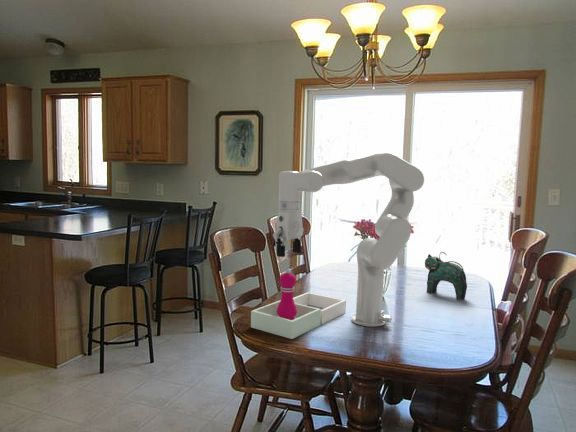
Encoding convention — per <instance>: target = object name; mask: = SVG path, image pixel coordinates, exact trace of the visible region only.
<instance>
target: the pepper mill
mask: <svg viewBox="0 0 576 432" xmlns="http://www.w3.org/2000/svg"><path fill="white" fill-rule="evenodd" d="M296 283H297V278H296V276H295V274H293V273H291V269H290V268H287V269H285V273H282V274H281V275H280V276H279V284H280V291H281V298H280V300H281V301H280V303H279V305H278V308H277V314H278V316H279V317H281V318H285V319H288V320H294V319H295V318H294V317H295V316H296V314H297V309H296V305H295V303H294V300H293V298H294V292H295V285H296Z"/></svg>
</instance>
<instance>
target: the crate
mask: <svg viewBox="0 0 576 432" xmlns="http://www.w3.org/2000/svg"><path fill="white" fill-rule="evenodd" d="M293 300H294V303H297V304H301V305H306V306H310V307H315V308H319V309H321V323H320V325H323V324H325V323H328V322H330V321H332V320H334V319H335V318H337V317H340V316H341V315H343V314H345V313H346V309H347V308H346V307H347V306H346V305H347V300H346V299H342V298H337V297H333V296H328V295H327V296H326V295H323V294H319V293H318V294H317V293H314V292H309V291H307V292H305V293H302V294H299V295H297V296H293Z"/></svg>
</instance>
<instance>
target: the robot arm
mask: <svg viewBox="0 0 576 432" xmlns="http://www.w3.org/2000/svg"><path fill="white" fill-rule="evenodd" d="M378 176H379V177H380V176H381V177H383V176H384V177H385V178H387V179H388V183H389V186H390V189H391V198H390V200H389V202H387V203H388V204H387V205H386V207H385V208H384V210H383V211H382V213H381V214H380V216H379V218H378V219H377V221H376V223H375V225H374V232H375V234H376V235H377V236H378V237H379V238H377V239H376V238H373V237H367V238H364V239H362V240H361V241H360V242H359V243H358V245H357V248H356V261H357V282H356V284H357V287H356V305H355V306H356V308H355V314H354V315H352V316H351V321H352V322H353V324H356V325H359V326H363V327H371V328H375V327H381V326H382V327H383V326H384V325H385V324H386V323H390V324H391V323H392V316H391V315H388V314H385V310H383V299H384V298H383V297H384V296H383V294H384V278H385V274H384V270H385V269H387V268H390V267H391V266H392V265H393V264H394V262H395V261H396V260H397V259H398V257H399V255H400V254H401V252H402V251H403V249H404V247H405V245H406V244H407V243H408V241H409V239H410V236H411V234H412V227H411V223H410V222H409V220H407V218H408V217H409V215H410V213H411V211H412V209H413V208H414V204H415V203H414V202H415V195H414V193H415V192H417V191H418V190H420V189H421V188H422V187H423V185H424V183H425V177H424V173H423V172H422V170H420V169H419V168H418V167H417V166H415V165H413V164H412V163H409V162H408V161H406V160H405V159H404V158H401V157H400V156H398V155H397V154H394V153H392V152H390V151H376V152H372V153H367V154H364V155H363V154H362V155H360V156H357V157H352V158H347V159H344V160H339V161H336V162H333V163H329V164H324V165H320V166H317V167H312V168H308V169H304V170H302V171H300V172H299V171H297V170H284V171H280V172H279V174H278V213H277V223H276V230H275V231H274V232H273V233H272V237H273V241H274V242H275V245H276V256H277V257H278V258H280V257H281V258H285V257H286V245H285V243H286V241H291V240H293V241H292V253H296V254H300V253H301V252H302V241H303V236H304V232H305V228H304V227H303V214H302V209H301V192H304V193H305V192H307V193H317V192H319V191H321V190H322V189H323V187H326V186H331V185H346V184H353V183H356V182H359V181H363V180H367V179H372V178H375V177H378Z"/></svg>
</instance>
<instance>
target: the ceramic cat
mask: <svg viewBox="0 0 576 432" xmlns="http://www.w3.org/2000/svg"><path fill="white" fill-rule="evenodd" d="M442 254H444V255H445V256H447V253H446V252H444V251H441V252H440V253H439V257H438V256H432V255H431V254H430V253H429V254H428V256H427V258H425V259H424V267H425V268H426V269H427V270H428V274H427V280H426V292H427V293H428V294H429V293H430V294H435V293H437V291H438V285H439V284H440V283H441V282H448V283H450V284H452V285H453V288H454V291H455V299H456V300H458V299H459V300H458V301H464V300H465V299H466V294H467V290H468V289H467V288H468V283H467V276H466V273H465V270H464V267H463V266H462V265H461V264H460V263H459V262H457V261H452V260H449V261H443V260H442V259H441V255H442ZM463 299H464V300H463Z"/></svg>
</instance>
